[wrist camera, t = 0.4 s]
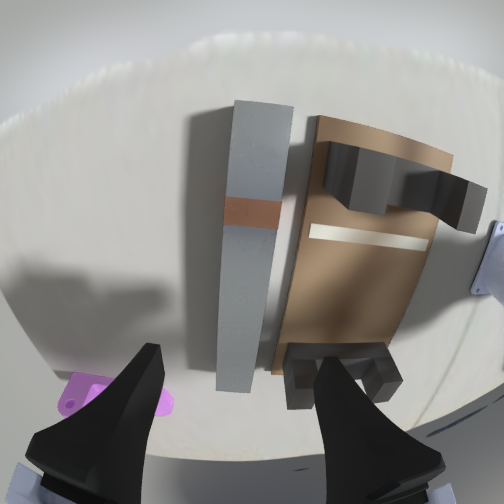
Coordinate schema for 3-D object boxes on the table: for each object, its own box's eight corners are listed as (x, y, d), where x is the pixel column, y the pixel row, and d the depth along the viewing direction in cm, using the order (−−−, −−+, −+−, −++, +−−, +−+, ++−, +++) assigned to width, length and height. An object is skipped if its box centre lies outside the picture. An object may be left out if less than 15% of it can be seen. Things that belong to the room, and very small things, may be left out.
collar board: (448, 154, 16) (498, 169, 11) (372, 368, 25) (388, 408, 20) (317, 115, 15) (347, 111, 10) (270, 370, 25) (274, 418, 20)
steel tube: (286, 110, 15) (294, 106, 12) (250, 368, 25) (250, 393, 22) (237, 104, 15) (234, 99, 12) (218, 365, 24) (215, 390, 22)
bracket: (92, 397, 29) (76, 436, 22) (74, 370, 26) (53, 412, 20) (179, 408, 28) (170, 457, 22) (166, 382, 26) (153, 436, 20)
